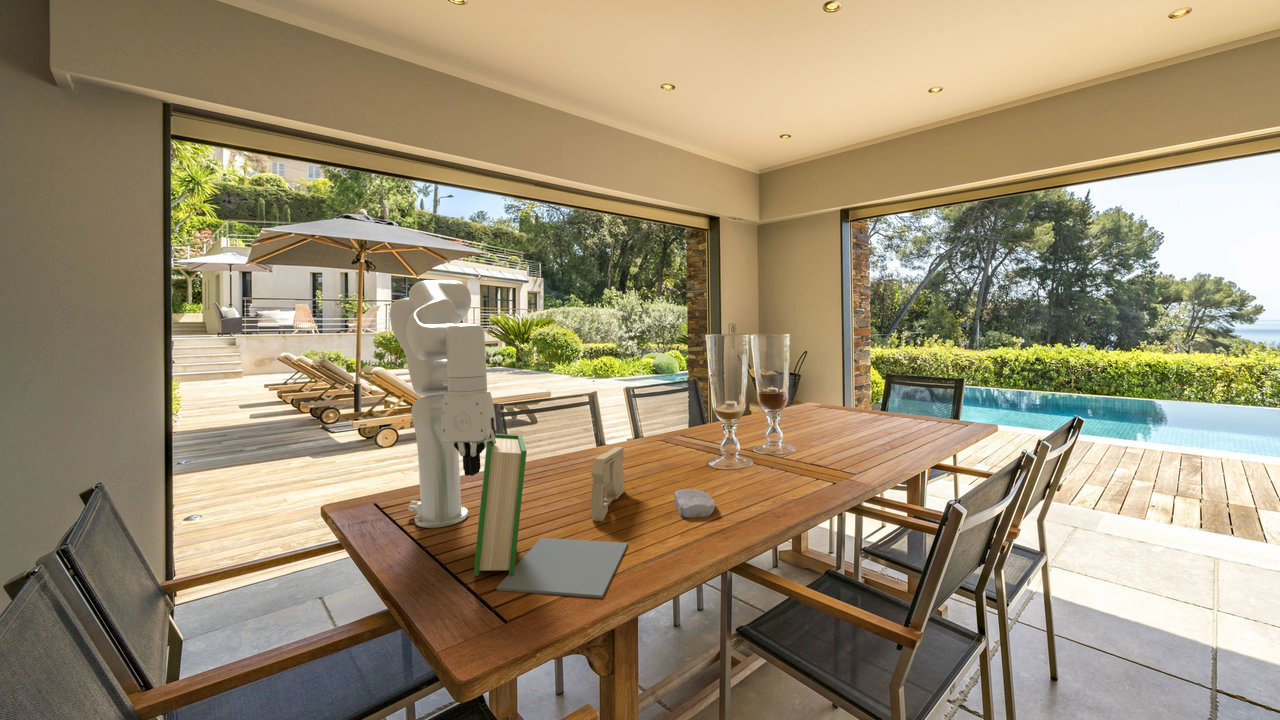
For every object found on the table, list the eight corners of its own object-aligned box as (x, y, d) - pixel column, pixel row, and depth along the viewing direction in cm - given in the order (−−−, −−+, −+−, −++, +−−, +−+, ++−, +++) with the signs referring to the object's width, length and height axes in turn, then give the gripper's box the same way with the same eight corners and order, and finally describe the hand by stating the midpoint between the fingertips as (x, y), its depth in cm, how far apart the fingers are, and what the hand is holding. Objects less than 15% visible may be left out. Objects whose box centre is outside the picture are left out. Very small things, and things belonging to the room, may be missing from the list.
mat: (496, 589, 95) (496, 587, 95) (541, 540, 116) (540, 537, 116) (602, 598, 91) (602, 595, 91) (627, 544, 113) (627, 542, 113)
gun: (602, 523, 125) (601, 461, 125) (589, 522, 126) (588, 461, 126) (625, 498, 149) (624, 446, 149) (614, 498, 150) (613, 446, 150)
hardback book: (513, 574, 99) (526, 450, 99) (473, 575, 97) (486, 448, 97) (510, 541, 116) (521, 435, 116) (476, 541, 114) (487, 433, 114)
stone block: (706, 507, 140) (670, 502, 139) (710, 490, 139) (674, 485, 138) (717, 525, 128) (678, 520, 127) (721, 507, 128) (682, 501, 127)
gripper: (423, 387, 102) (428, 478, 104) (493, 387, 100) (497, 480, 101) (444, 383, 110) (449, 468, 111) (510, 382, 107) (514, 469, 108)
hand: (472, 473), depth 106 cm, fingers closed
